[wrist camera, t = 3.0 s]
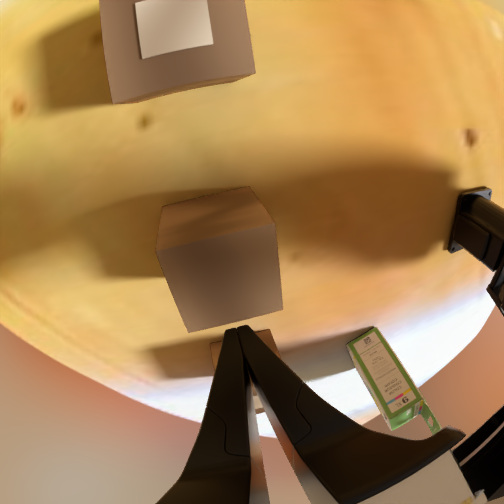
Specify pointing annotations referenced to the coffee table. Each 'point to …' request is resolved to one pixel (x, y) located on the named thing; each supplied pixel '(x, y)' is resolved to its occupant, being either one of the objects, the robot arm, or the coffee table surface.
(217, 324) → the plain block
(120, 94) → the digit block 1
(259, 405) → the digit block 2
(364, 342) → the ink box
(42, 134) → the coffee table surface
